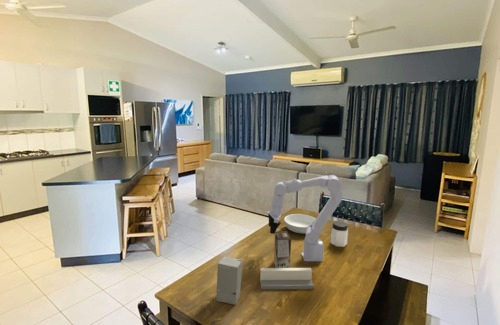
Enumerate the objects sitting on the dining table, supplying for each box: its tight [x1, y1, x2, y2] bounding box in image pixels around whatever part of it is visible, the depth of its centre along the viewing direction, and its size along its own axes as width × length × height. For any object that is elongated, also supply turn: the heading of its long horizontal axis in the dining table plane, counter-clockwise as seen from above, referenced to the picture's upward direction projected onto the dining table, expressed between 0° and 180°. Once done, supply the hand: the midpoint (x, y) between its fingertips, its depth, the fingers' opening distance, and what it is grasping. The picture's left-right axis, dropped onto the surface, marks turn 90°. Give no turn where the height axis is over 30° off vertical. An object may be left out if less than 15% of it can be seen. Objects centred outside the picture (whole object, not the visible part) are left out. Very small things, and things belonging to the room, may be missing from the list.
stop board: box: [259, 267, 315, 290], centre depth 114 cm, size 22×6×6 cm, turn 92°
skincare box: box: [215, 255, 243, 306], centre depth 105 cm, size 8×7×16 cm
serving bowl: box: [283, 213, 317, 235], centre depth 169 cm, size 21×21×7 cm
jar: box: [330, 220, 349, 248], centre depth 151 cm, size 9×8×12 cm
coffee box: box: [273, 230, 292, 268], centre depth 127 cm, size 9×6×16 cm
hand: (271, 229), depth 139 cm, fingers open, 7 cm apart
